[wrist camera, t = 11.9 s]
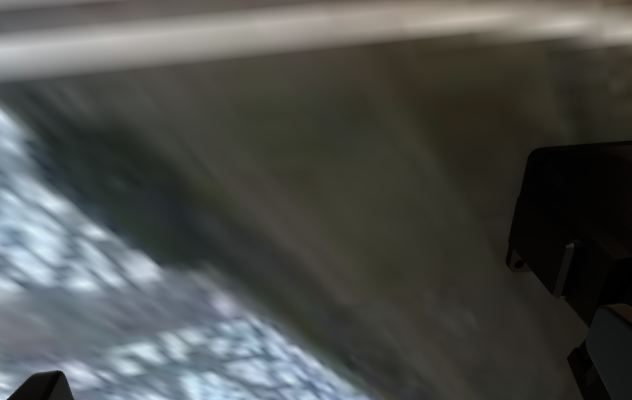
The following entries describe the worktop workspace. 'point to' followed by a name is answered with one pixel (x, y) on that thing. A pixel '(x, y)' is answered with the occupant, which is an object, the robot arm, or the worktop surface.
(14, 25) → the worktop surface
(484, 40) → the worktop surface
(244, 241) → the worktop surface
